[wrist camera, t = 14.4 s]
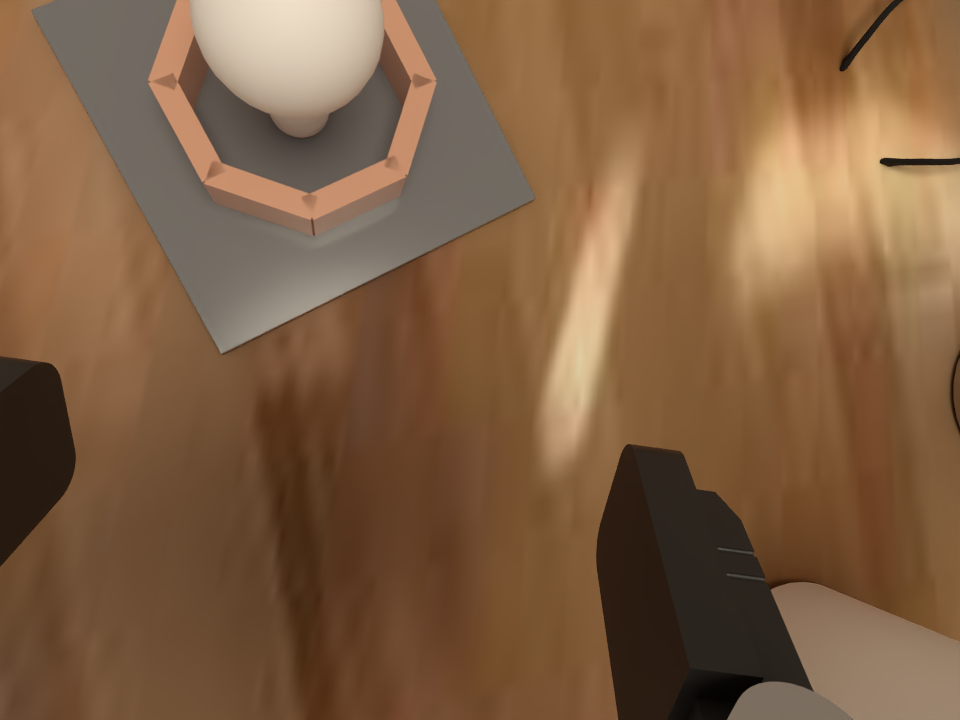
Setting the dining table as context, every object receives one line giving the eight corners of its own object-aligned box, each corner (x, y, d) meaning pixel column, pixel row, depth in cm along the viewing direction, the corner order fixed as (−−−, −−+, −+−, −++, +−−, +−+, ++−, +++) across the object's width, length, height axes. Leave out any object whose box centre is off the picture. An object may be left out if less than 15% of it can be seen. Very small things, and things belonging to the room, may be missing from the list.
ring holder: (376, -106, 32) (382, -167, 28) (532, 201, 33) (556, 179, 29) (36, 17, 28) (-5, -35, 25) (223, 354, 29) (208, 350, 26)
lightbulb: (220, 48, 29) (159, -151, 19) (362, 49, 31) (381, -136, 20) (234, 187, 29) (179, 67, 18) (376, 182, 30) (402, 67, 20)
